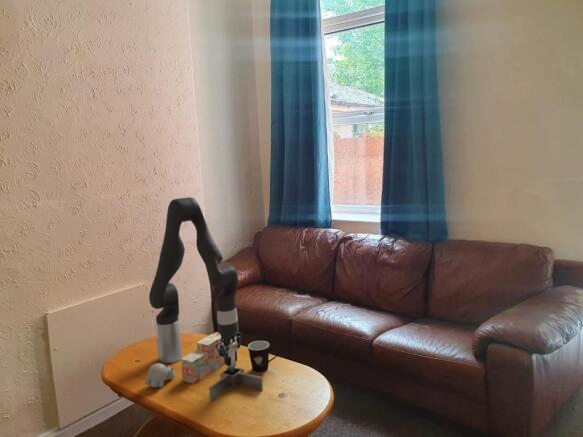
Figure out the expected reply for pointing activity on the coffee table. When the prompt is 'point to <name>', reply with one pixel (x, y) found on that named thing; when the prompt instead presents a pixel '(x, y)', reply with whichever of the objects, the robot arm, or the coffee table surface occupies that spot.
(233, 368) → the hinge pin
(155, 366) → the chubby cartoon animal
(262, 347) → the coffee mug
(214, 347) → the stack of blocks
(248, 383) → the hinge leaves
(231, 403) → the coffee table surface
